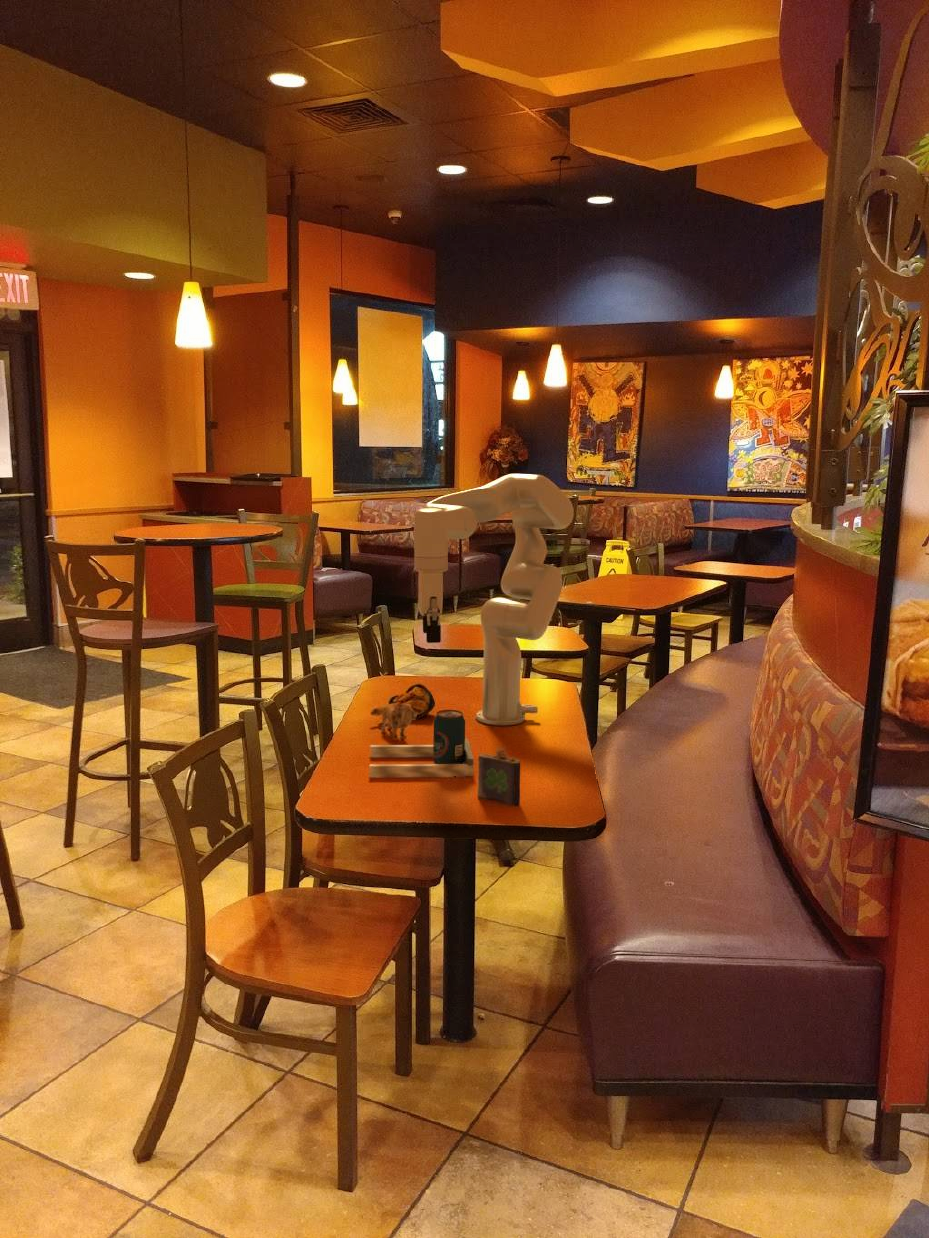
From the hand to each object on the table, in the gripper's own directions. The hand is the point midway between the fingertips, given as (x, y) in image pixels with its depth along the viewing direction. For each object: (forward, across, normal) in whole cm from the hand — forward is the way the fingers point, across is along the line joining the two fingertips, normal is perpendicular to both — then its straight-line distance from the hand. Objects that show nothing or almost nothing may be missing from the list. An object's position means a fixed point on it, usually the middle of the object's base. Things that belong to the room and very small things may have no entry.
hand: (431, 637), depth 223 cm
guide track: (+26, +15, -4) cm, 30 cm away
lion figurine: (+26, -8, -8) cm, 29 cm away
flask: (+26, +36, +10) cm, 45 cm away
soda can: (+26, +15, +2) cm, 30 cm away
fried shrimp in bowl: (+27, -22, -5) cm, 35 cm away
